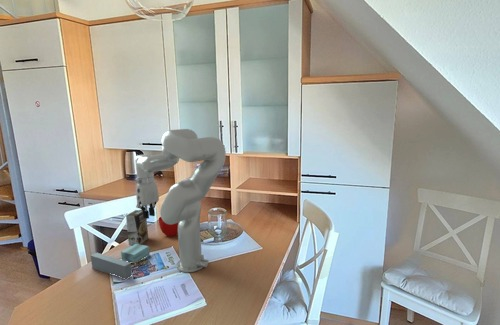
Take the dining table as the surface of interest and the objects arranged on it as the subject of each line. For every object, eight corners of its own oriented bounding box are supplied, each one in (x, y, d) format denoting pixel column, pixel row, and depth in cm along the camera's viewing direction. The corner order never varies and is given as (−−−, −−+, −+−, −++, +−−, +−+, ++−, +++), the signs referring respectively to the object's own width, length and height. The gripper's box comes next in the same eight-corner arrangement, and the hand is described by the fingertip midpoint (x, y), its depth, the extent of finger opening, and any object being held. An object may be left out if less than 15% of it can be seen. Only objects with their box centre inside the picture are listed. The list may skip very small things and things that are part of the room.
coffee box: (139, 245, 149) (136, 215, 146) (128, 244, 150) (125, 215, 148) (149, 238, 158) (146, 209, 155) (138, 237, 159) (135, 209, 156)
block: (149, 256, 138) (148, 246, 137) (135, 265, 130) (134, 254, 129) (137, 253, 141) (135, 243, 140) (122, 262, 133) (121, 251, 132)
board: (132, 276, 120) (130, 262, 119) (126, 279, 118) (124, 266, 117) (98, 264, 130) (96, 252, 129) (92, 268, 128) (90, 255, 127)
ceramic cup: (174, 243, 150) (173, 224, 149) (155, 235, 161) (153, 218, 159) (193, 234, 161) (192, 217, 159) (174, 228, 171) (172, 212, 169)
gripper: (137, 184, 129) (141, 223, 132) (164, 177, 144) (166, 212, 147) (126, 183, 133) (130, 221, 136) (153, 176, 147) (156, 210, 150)
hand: (149, 216), depth 141 cm, fingers open, 3 cm apart
